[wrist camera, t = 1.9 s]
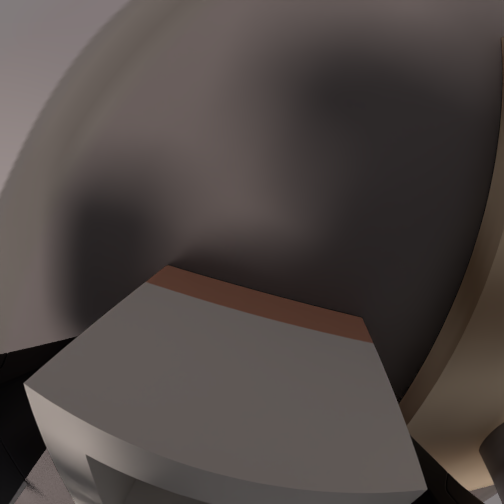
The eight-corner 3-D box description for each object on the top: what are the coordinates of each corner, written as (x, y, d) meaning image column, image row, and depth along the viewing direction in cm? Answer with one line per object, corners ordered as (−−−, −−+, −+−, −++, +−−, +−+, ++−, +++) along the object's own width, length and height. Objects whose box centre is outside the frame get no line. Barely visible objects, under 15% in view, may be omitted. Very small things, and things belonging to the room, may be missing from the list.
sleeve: (298, 443, 10) (292, 575, 4) (152, 403, 10) (84, 518, 5) (361, 317, 8) (427, 489, 3) (167, 264, 9) (23, 383, 3)
